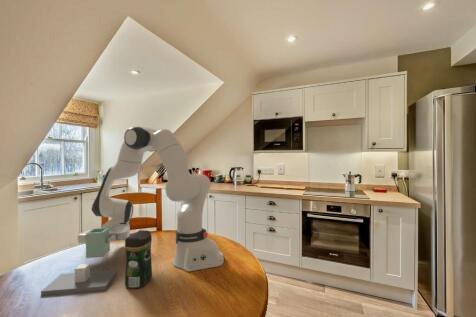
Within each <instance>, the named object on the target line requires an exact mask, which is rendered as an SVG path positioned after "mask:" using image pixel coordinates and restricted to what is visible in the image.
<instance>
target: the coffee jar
mask: <svg viewBox="0 0 476 317" xmlns="http://www.w3.org/2000/svg"><path fill="white" fill-rule="evenodd" d="M124 250H125V253H126V254H125V259H126V260H125V275H124V285H125V287H126V288H129V289H132V290H133V289H140V288H142V287H144V286H145V285H146V284H147V283H149V282H150V280H151V279H152V277H153V272H152V270H153V269H152V268H153V267H152V233H151V232H150V231H149V230H142V229H141V230H138V231H136V232H133V233H132V234H130V236H129V237H127V238H126V239H125V240H124Z"/></svg>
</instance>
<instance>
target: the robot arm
mask: <svg viewBox="0 0 476 317" xmlns="http://www.w3.org/2000/svg"><path fill="white" fill-rule="evenodd" d="M123 139H124V141H123V142H122V145H121V147H120V149H119V153H118V157H117V161H116V163H115V164H114V165H112V166H111V167H109V168H108V169H107V171H106V174H105V175H104V178H103V180H102V182H101V185H100V187H99V190H98V192H97V195H96V197H95V198H94V201H93V203H92V205H91V211H92V213H93V214H94V216H95V217H101V218H102V217H103V218H110V219H109V220H108V221H106V222H105V223H104V224H102V225H101V226H100V228H109V237H108V238H106V243H112V242H113V241H125V239H126V238H127V237H129V236H130V235H131V234H130V232H131V227H130V223H129V222H130V221H131V219H132V217H133V213H134V206H133V203H132V202H131V200H127V199H122V198H116V197H110V196H109V194H110V191H111V189H112V186H113V184H114V182H115V181H116V180H122V179H127V178H131V177H134V176H136V175H137V174H138V173H139V172H140V171H141V167H142V163H143V158H144V154H145V153H146V152H156V153H157V154H158V156H159V158H160V160H161V162H162V164H163V166H164V169H165V171H166V176H167V182H166V184H165V190H164V191H165V195H166V197H167V198H168V199H169V200H170V201H171V202H177V203H179V202H182V204H181V206H180V207H179V209H178V211H177V214H176V230H175V244H176V245H175V253H174V257H173V261H172V264H173V266H175V267H176V268H178V269H182V270H183V271H185V272H192V271H193V272H194V271H199V270H206V269H210V268H216V267H217V268H218V267H221V266H223V265H224V262H225V258H224V255H223V252H221V251H220V250H219V247H218V245H217V243H216V242H215V241H214V240H212V239H211V238H209V235H208V234H209V233H208V232H207V230H206V228H203V212H204V207H205V206H204V205H205V202H206V197H207V195H208V193H209V190H210V189H211V180H210V178H209V177H208V176H207V175H206V174H202V173H190V170H189V166H188V164H189V162H190V161H189V160H190V159H189V157H188V155H187V153H186V152H185V149H184V148H183V146H182V144H181V143H180V140H178V139H177V137H176V136H175V134H174V133H173V132H172V131H171V130H169V129H167V128H163V129H159V130H156V129H154V128H150V127H144V126H143V127H141V126H132V127H131V126H130V127H129V128H127V129H126V131H125V132H124V137H123ZM90 230H91V229H89V230H85V231H83V232H81V233H79V234H78V235H77V242H78V244H85V245H86V233H87V232H89V231H90Z"/></svg>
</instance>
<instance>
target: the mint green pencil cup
mask: <svg viewBox="0 0 476 317" xmlns="http://www.w3.org/2000/svg"><path fill="white" fill-rule="evenodd" d="M89 230H90V231H89V232H87V233H86V244H85V259H93V258H94V259H95V258H104V257H105V256H106V255H107V254H108V253H109V252H110V250H111V249H110V248H111V247H110V246H111V245H110V243H111V242H110V243H106V238H108V237H109V228H101V227H99V228H97V227H96V228H95V227H94V228H92V229H89Z"/></svg>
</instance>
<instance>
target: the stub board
mask: <svg viewBox="0 0 476 317" xmlns="http://www.w3.org/2000/svg"><path fill="white" fill-rule="evenodd" d="M90 269H91V263H81V264H78V266H76V267H75V268H74V272H72V273H62V274H61V273H60V275H58V276H57V277H56V278H54V280H53V281H51V282H50V283H49V284H48V285H47V286H46V287H45V288H43V289H41V291H40V295H41V296H51V295H54V296H55V295H66V294H77V293H87V292H88V293H89V292H101V291H107V289H108V287H109V286H110V285H111V283H112V282H113V280H114V279H115V278H116V276H117V275H118V270H117V269H113V270H99V271H91V270H90Z"/></svg>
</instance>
